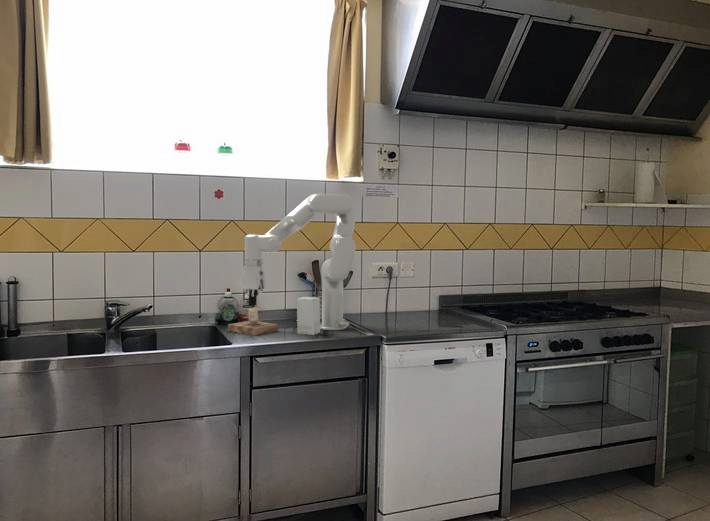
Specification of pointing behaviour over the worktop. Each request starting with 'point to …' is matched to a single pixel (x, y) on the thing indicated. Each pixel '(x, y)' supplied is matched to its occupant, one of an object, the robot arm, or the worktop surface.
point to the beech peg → (253, 316)
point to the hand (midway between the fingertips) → (252, 305)
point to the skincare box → (308, 315)
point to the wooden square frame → (252, 328)
